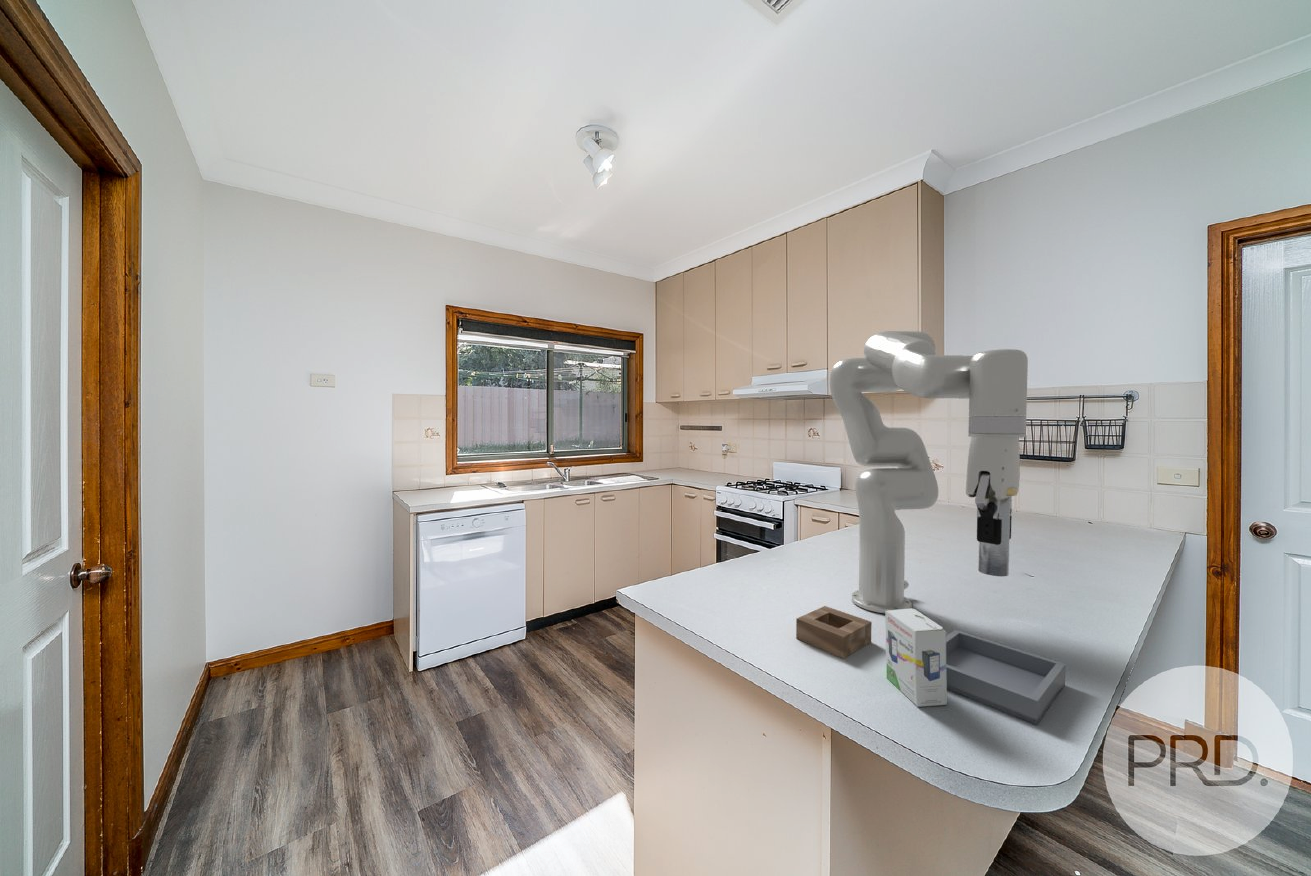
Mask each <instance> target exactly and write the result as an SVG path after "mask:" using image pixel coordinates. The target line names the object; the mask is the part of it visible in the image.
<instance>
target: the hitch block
mask: <svg viewBox="0 0 1311 876" xmlns="http://www.w3.org/2000/svg"><path fill="white" fill-rule="evenodd" d="M795 623H796V627H795V629H796V631H795V632H796V633H795V635H796V636H795V637H796V639H797V640H799V641H801V642H804V643H806V644H808V645H811V646H813V647H815V648H818V649H820V650H822V651H825V652H827V653H829V654H832V655H834V656H836V657H838V658H842V659H845V658H848V657H849V656H850V655H852V654H854V653H856V652H857V651H859V650H860V649H862V648H864V647H866V646H868V644H871V643H872V621H870V620H867V619H865V618H862V617H858V616H856V615H853V614H850V613H846V612H844V611H841V610H839V609H835V608H833V607H829V606H827V605H823V606H822V607H819V608H817V609H814V610H813V611H811V612H808V613H806V614H804V615H801V616H799V617H796V622H795Z"/></svg>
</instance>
